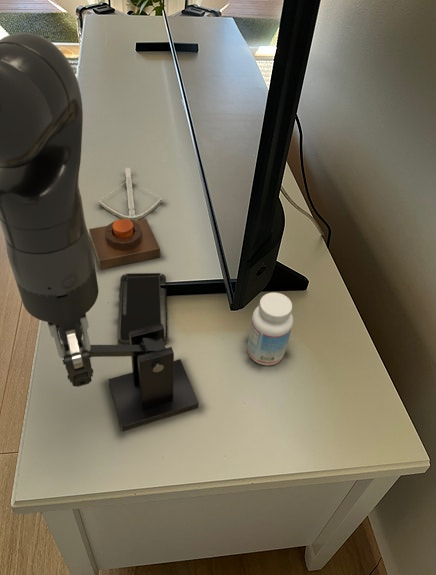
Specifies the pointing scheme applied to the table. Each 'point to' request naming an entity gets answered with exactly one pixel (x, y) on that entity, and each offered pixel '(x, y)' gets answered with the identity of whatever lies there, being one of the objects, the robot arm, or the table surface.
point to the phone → (141, 304)
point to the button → (123, 228)
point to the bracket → (151, 385)
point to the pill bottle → (270, 329)
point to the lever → (127, 348)
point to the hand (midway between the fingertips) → (77, 364)
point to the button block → (124, 245)
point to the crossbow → (130, 201)
